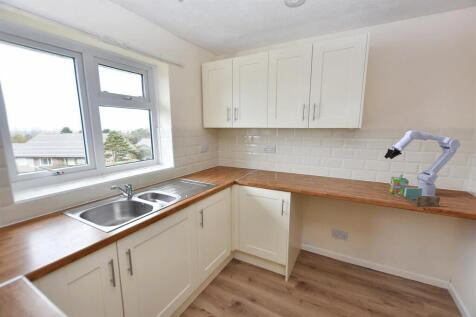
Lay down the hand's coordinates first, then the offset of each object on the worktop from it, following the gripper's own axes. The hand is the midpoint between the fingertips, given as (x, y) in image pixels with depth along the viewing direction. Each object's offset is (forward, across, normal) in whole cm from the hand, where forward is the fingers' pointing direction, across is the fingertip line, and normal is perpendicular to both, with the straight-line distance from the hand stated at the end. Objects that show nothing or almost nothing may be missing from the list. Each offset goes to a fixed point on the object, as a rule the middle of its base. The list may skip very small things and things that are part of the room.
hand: (387, 158), depth 152 cm
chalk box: (+14, -6, +25) cm, 30 cm away
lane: (+13, +9, +29) cm, 33 cm away
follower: (+13, +7, +29) cm, 32 cm away
